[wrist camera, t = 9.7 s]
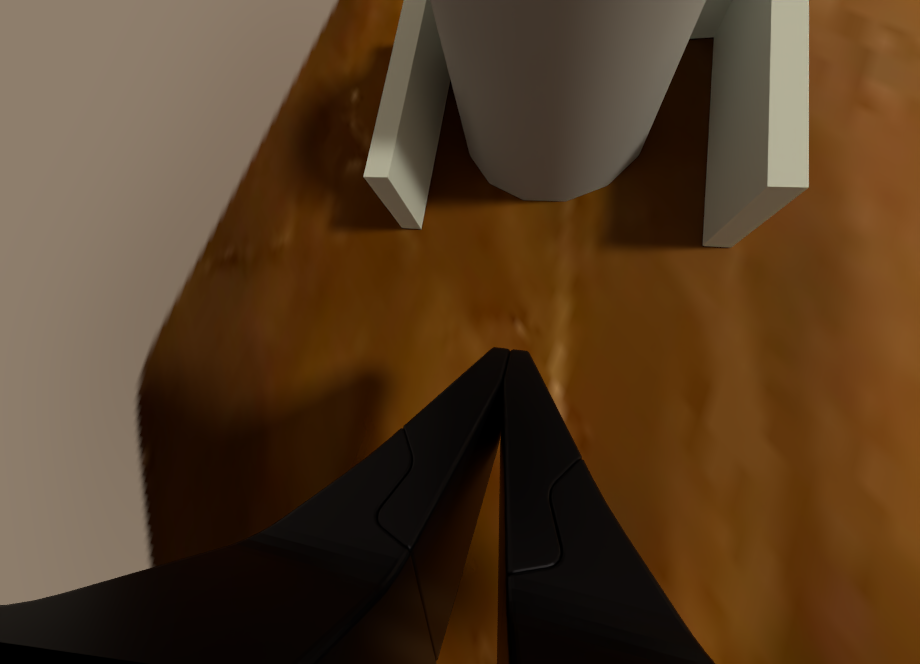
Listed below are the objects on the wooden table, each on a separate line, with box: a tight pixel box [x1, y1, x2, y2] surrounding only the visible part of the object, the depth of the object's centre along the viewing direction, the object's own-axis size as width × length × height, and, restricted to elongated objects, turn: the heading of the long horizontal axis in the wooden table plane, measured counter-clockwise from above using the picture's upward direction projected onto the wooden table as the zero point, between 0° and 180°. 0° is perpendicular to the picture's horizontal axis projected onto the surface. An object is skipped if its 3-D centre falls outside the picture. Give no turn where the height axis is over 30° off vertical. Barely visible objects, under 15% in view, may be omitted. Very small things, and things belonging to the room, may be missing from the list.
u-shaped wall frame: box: [363, 0, 809, 248], centre depth 14 cm, size 11×14×4 cm
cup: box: [430, 0, 706, 201], centre depth 12 cm, size 8×8×10 cm
